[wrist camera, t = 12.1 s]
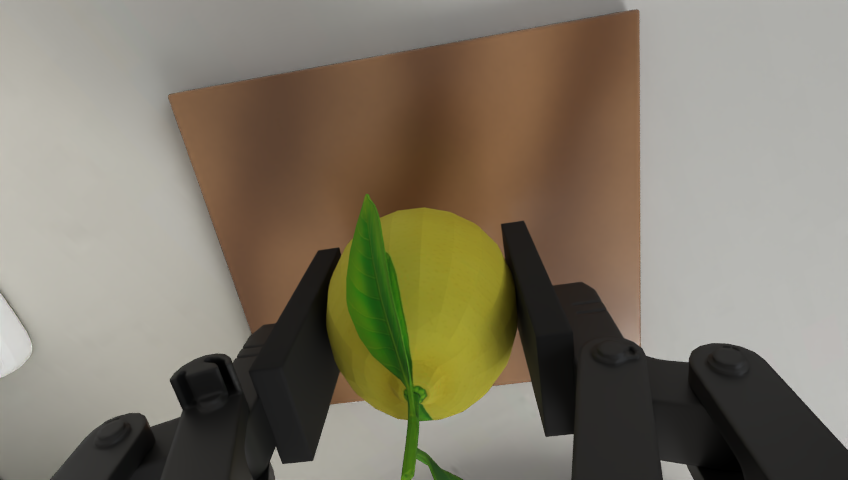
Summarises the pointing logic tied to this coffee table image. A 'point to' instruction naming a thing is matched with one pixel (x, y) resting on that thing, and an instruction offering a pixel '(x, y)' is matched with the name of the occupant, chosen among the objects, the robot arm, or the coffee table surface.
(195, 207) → the coffee table surface
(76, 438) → the coffee table surface
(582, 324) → the robot arm
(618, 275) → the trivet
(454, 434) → the coffee table surface
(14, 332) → the calculator
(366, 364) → the lemon
